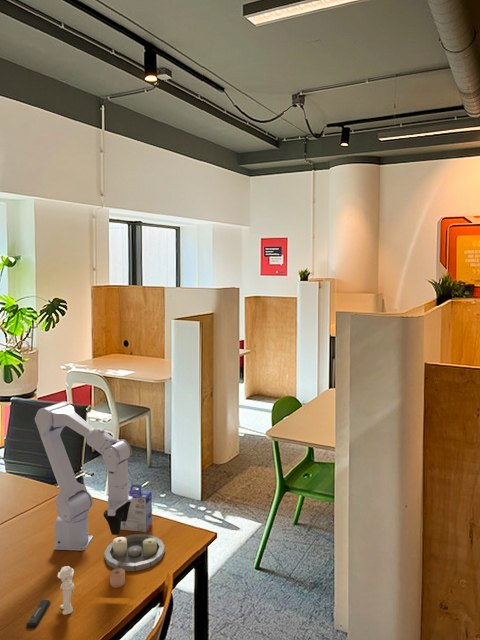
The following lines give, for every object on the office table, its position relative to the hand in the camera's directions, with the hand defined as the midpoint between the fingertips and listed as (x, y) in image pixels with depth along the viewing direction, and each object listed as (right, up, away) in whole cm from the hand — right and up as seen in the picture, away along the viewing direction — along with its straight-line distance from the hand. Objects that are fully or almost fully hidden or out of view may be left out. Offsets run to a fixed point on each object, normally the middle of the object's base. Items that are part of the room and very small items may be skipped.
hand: (119, 527), depth 155 cm
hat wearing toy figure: (-8, -12, -22) cm, 26 cm away
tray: (+4, -9, +1) cm, 10 cm away
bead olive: (+9, -8, +1) cm, 12 cm away
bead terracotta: (+2, -11, -12) cm, 17 cm away
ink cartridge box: (+1, -8, +18) cm, 19 cm away
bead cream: (0, -8, +2) cm, 8 cm away
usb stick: (-15, -13, -24) cm, 31 cm away
